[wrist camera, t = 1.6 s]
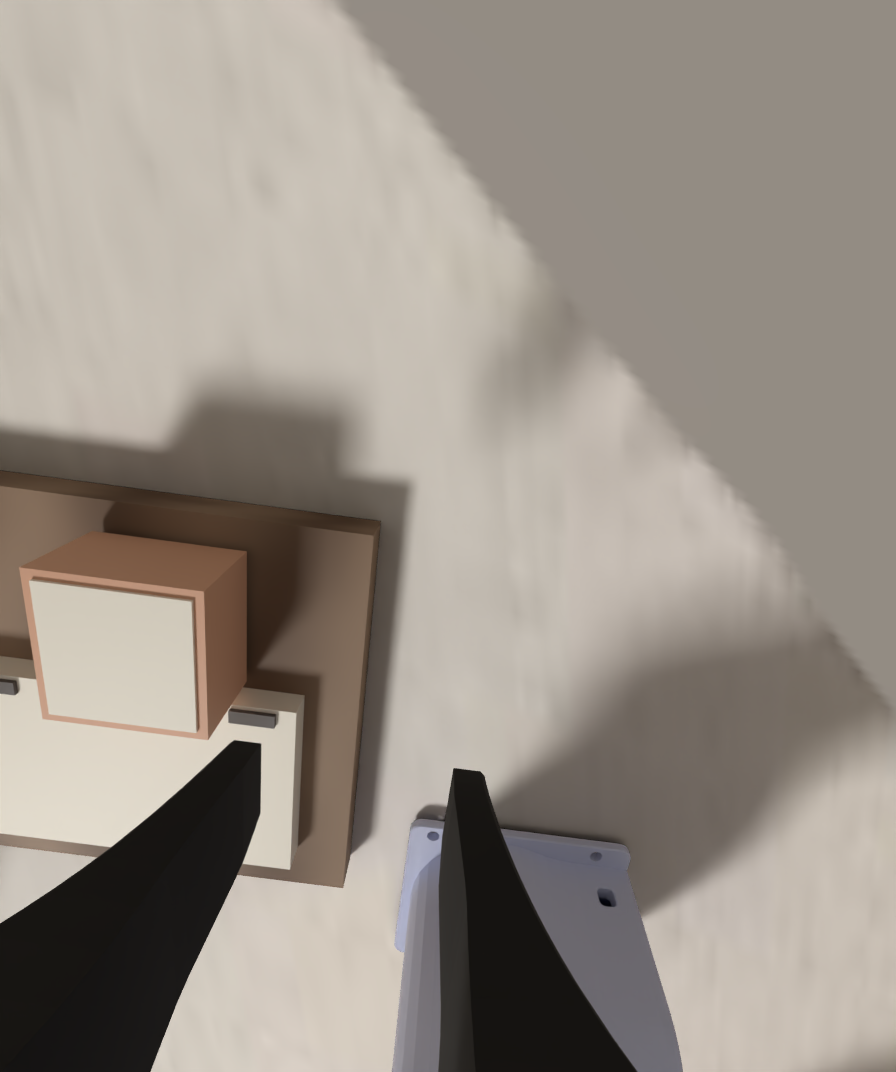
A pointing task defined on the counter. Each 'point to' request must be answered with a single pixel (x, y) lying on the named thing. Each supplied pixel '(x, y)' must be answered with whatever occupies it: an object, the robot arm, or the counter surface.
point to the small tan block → (138, 633)
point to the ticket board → (258, 710)
